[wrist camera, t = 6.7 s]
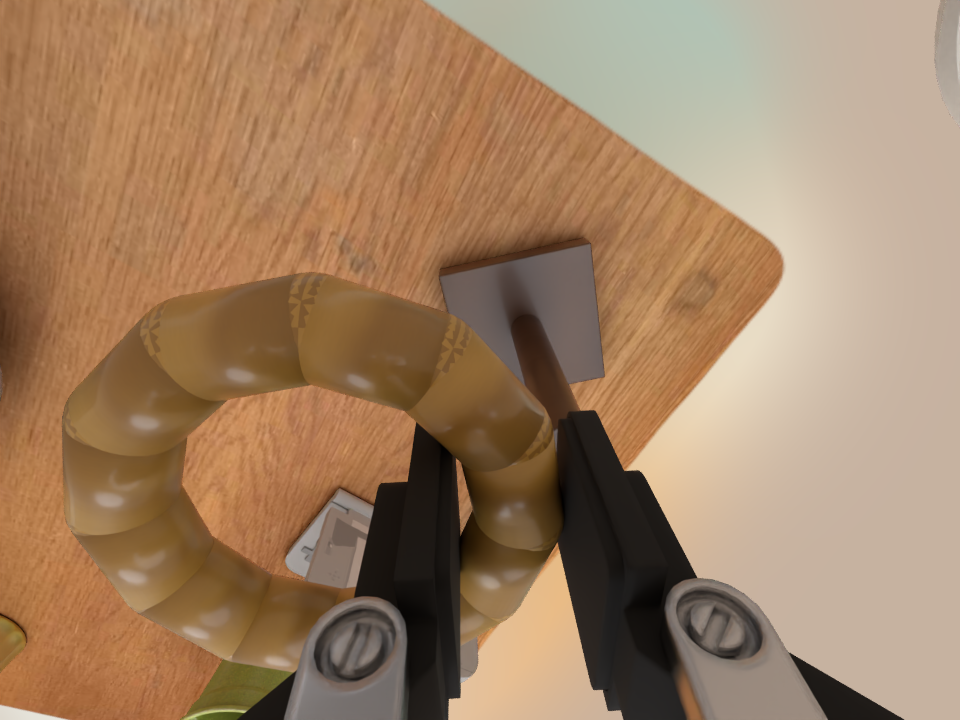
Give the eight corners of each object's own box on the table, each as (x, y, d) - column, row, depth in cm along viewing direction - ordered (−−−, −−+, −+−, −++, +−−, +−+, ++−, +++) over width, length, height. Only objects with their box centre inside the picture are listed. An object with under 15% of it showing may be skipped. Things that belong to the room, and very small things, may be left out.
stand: (584, 237, 29) (678, 318, 17) (599, 367, 33) (683, 508, 21) (439, 269, 29) (428, 370, 17) (470, 393, 33) (480, 546, 21)
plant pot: (279, 680, 46) (244, 792, 38) (198, 632, 43) (141, 745, 35) (350, 638, 44) (328, 748, 36) (271, 584, 41) (227, 693, 33)
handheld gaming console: (282, 556, 39) (231, 685, 30) (340, 485, 36) (303, 603, 27) (415, 617, 43) (405, 746, 34) (477, 557, 40) (484, 680, 31)
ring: (519, 220, 8) (535, 245, 6) (570, 588, 12) (587, 659, 11) (6, 318, 8) (-100, 364, 7) (221, 641, 13) (186, 717, 11)
